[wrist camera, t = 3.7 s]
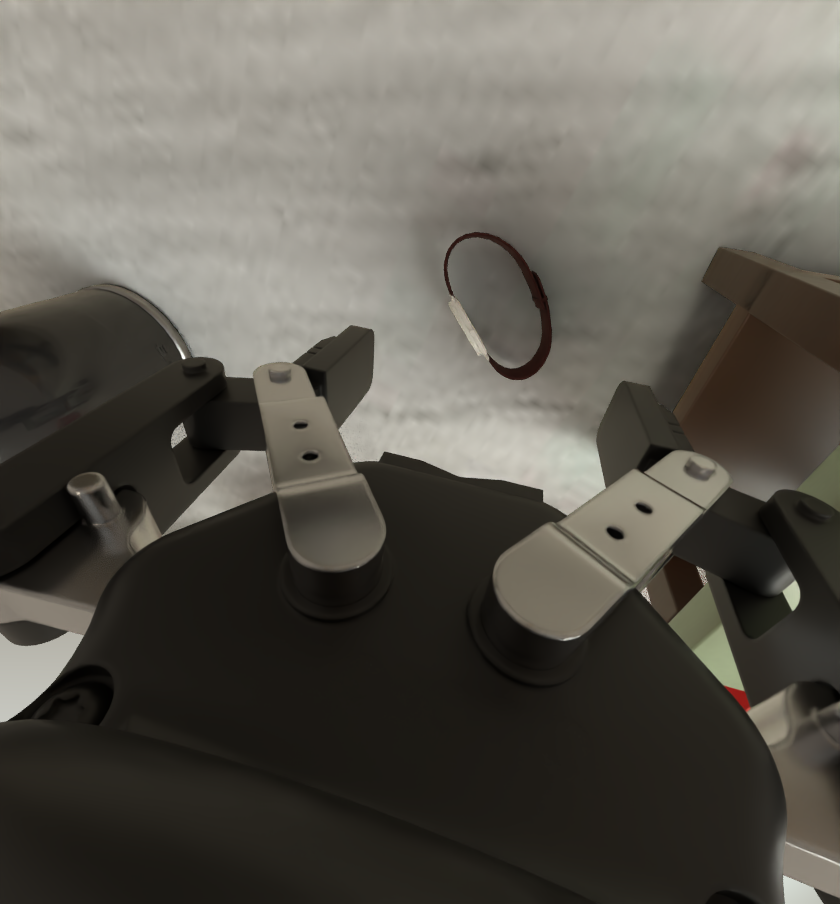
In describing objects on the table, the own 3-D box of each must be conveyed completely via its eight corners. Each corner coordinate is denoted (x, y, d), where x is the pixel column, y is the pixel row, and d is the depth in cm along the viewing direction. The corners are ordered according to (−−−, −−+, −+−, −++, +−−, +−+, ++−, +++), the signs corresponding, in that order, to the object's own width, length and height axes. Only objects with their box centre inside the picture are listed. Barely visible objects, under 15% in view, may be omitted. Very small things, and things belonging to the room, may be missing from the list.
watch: (425, 260, 21) (408, 274, 18) (506, 202, 18) (501, 207, 15) (494, 378, 24) (489, 407, 21) (571, 341, 21) (577, 368, 18)
